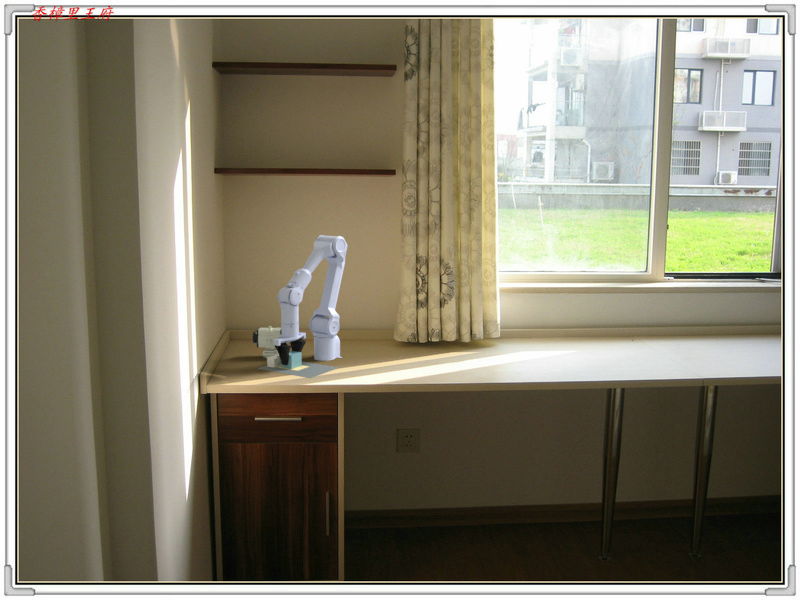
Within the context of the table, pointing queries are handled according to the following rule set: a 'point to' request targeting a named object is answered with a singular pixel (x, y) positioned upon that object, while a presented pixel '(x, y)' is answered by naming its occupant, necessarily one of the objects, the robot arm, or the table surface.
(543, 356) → the table surface
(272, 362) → the header
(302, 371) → the mat
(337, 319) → the robot arm
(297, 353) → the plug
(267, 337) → the pneumatic valve
